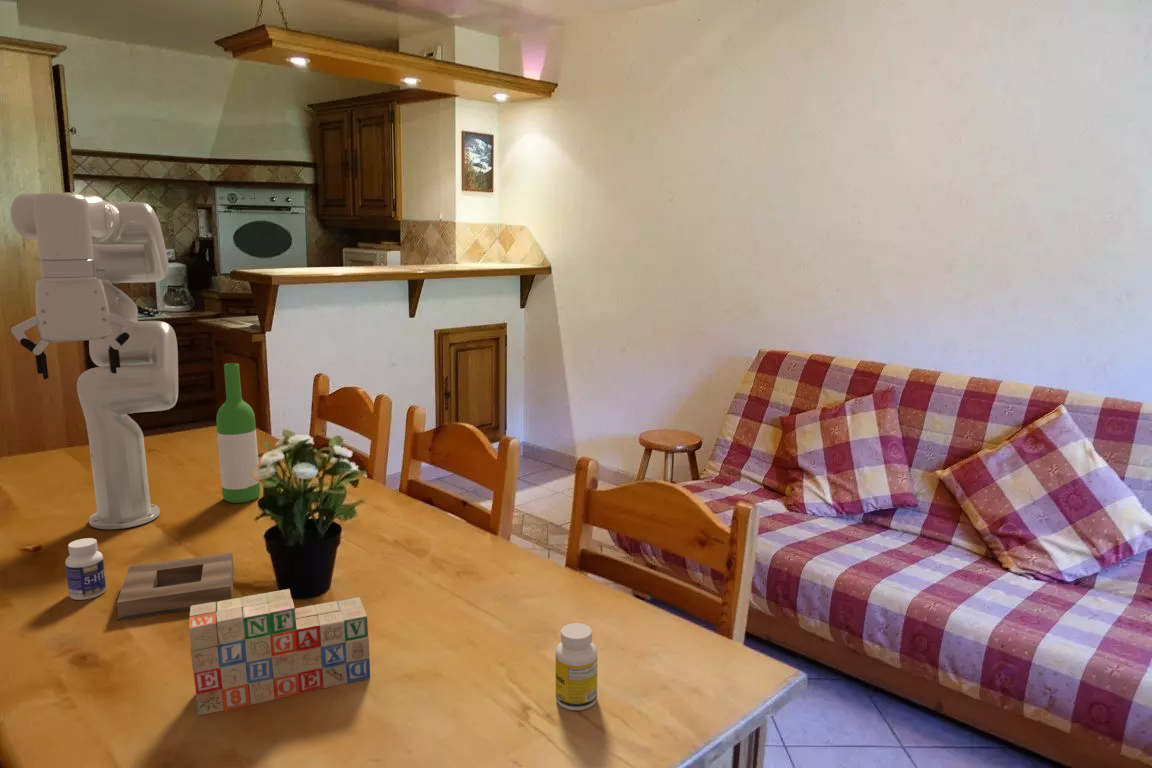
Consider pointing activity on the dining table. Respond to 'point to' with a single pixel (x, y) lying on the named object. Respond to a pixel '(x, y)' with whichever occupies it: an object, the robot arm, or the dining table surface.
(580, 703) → the supplement bottle
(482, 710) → the dining table surface
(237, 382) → the wine bottle
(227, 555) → the holder block
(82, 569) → the pill bottle
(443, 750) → the dining table surface
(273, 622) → the stack of blocks
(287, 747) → the dining table surface
